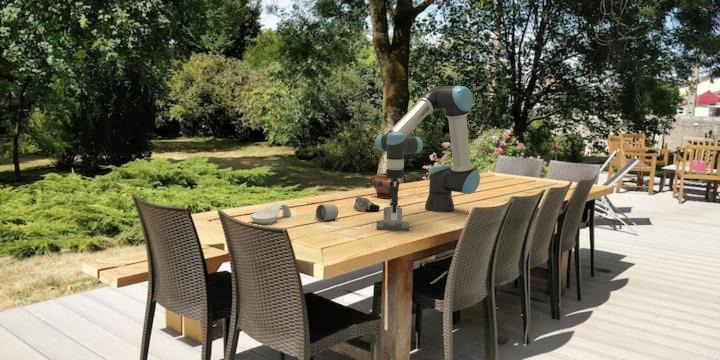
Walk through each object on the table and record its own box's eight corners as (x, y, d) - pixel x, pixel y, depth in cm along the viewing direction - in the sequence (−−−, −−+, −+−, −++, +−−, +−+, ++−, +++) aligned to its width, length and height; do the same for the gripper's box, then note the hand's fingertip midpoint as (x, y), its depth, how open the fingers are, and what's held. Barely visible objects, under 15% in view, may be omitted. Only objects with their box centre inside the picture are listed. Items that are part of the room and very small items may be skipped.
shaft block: (407, 225, 254) (408, 206, 253) (409, 231, 242) (410, 211, 241) (376, 224, 254) (377, 205, 253) (376, 229, 242) (377, 210, 241)
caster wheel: (379, 215, 289) (372, 215, 280) (360, 208, 293) (352, 208, 284) (383, 202, 289) (376, 202, 279) (363, 196, 293) (356, 195, 283)
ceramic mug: (339, 220, 260) (339, 203, 259) (326, 222, 254) (326, 205, 254) (324, 217, 268) (324, 201, 267) (310, 219, 262) (311, 202, 261)
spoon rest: (267, 227, 242) (267, 210, 241) (245, 224, 247) (245, 207, 246) (297, 218, 263) (297, 203, 262) (276, 215, 268) (276, 200, 267)
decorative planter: (363, 196, 329) (363, 173, 328) (373, 194, 340) (374, 171, 338) (393, 200, 319) (394, 176, 317) (403, 198, 330) (404, 174, 328)
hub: (401, 222, 252) (401, 207, 251) (402, 226, 244) (402, 210, 243) (383, 221, 252) (383, 206, 251) (383, 225, 244) (384, 209, 243)
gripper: (385, 165, 257) (384, 211, 260) (386, 172, 233) (385, 222, 236) (402, 165, 257) (400, 211, 260) (405, 172, 232) (403, 223, 235)
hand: (393, 216), depth 248 cm, fingers open, 13 cm apart
